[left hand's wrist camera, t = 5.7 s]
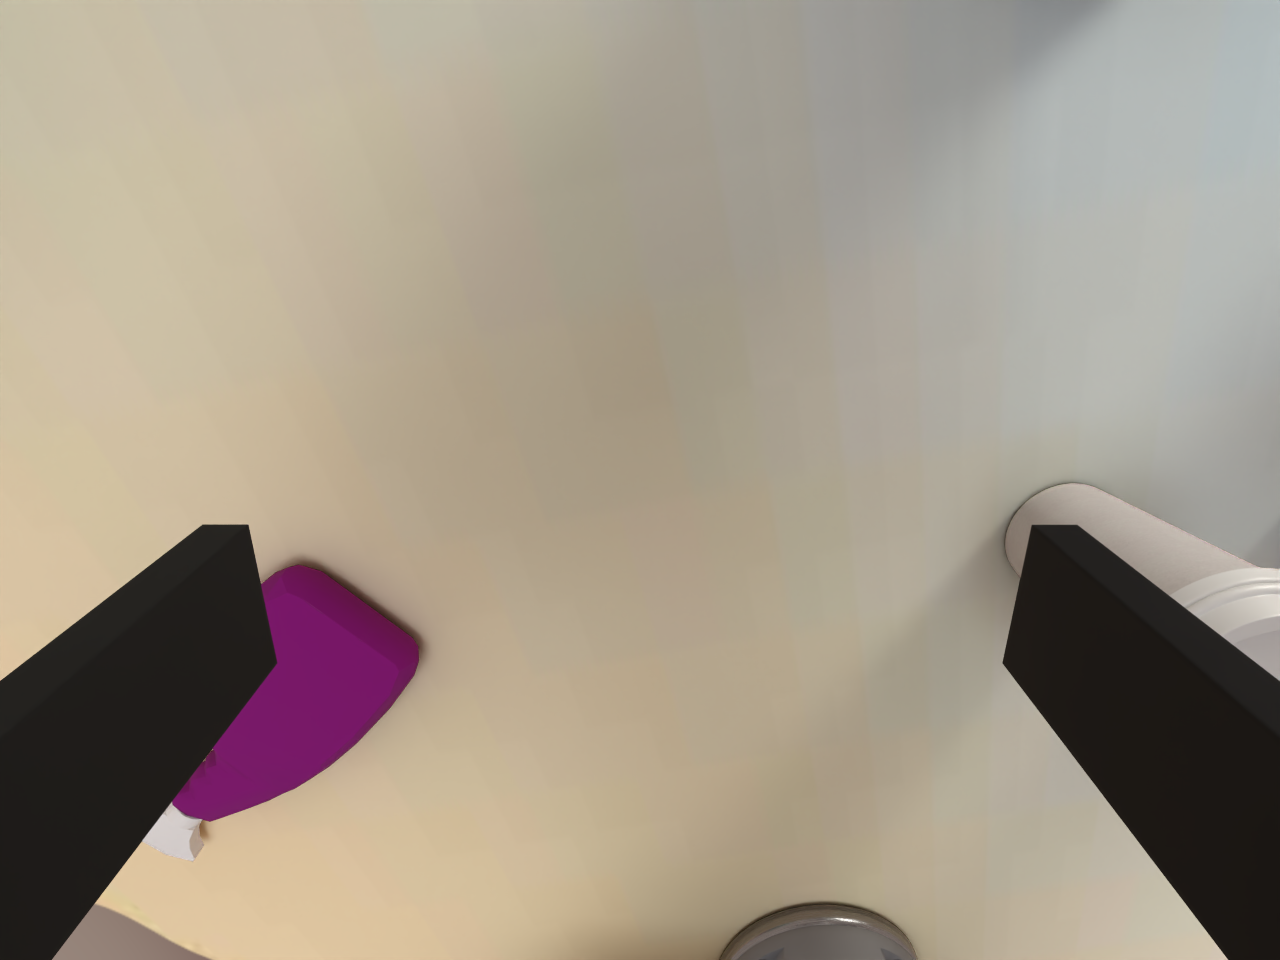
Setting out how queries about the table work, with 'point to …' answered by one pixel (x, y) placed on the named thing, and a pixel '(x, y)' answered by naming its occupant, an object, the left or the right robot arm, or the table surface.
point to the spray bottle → (295, 704)
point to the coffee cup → (1167, 564)
